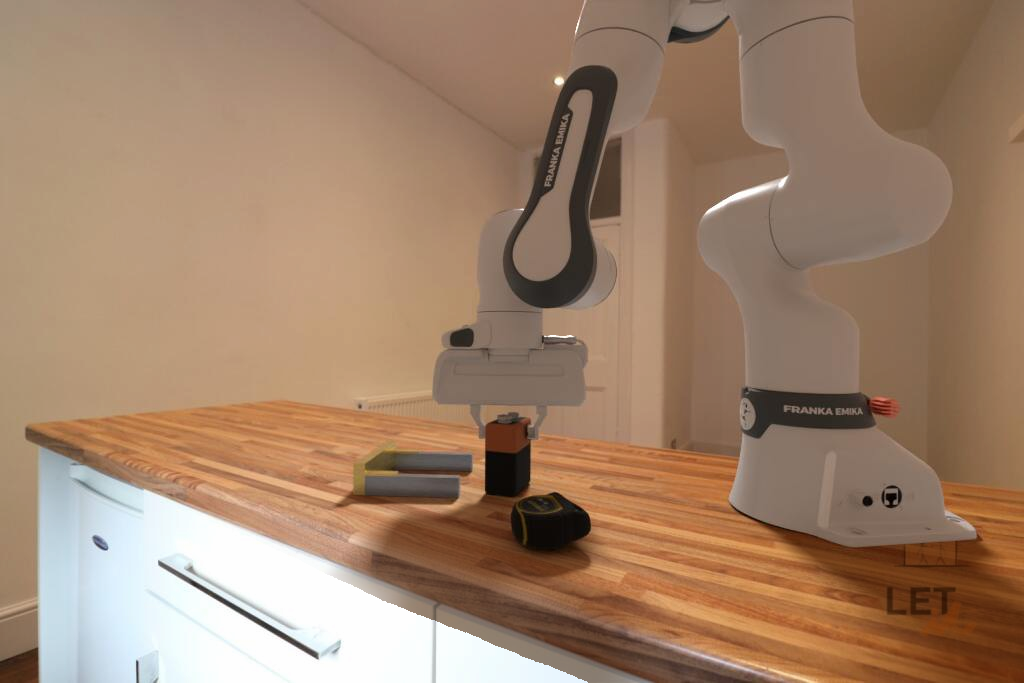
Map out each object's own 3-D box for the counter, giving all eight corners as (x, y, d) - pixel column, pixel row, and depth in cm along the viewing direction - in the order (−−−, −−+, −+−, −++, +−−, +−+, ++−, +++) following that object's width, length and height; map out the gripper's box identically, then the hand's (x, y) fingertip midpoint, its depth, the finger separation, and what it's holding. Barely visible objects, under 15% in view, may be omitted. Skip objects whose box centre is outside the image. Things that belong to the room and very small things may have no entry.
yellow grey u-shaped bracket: (472, 469, 68) (473, 443, 68) (458, 498, 56) (458, 466, 56) (386, 466, 69) (386, 441, 69) (353, 494, 57) (353, 463, 57)
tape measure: (596, 546, 41) (592, 505, 41) (527, 565, 39) (522, 522, 39) (565, 521, 48) (561, 486, 48) (504, 536, 46) (500, 499, 46)
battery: (483, 494, 57) (483, 416, 57) (502, 478, 64) (502, 409, 64) (515, 498, 56) (516, 419, 56) (531, 482, 62) (532, 410, 62)
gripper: (585, 336, 62) (584, 435, 62) (440, 334, 63) (439, 432, 64) (590, 335, 56) (589, 446, 56) (429, 334, 57) (428, 442, 57)
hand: (508, 438), depth 60 cm, fingers closed on battery, 5 cm apart
